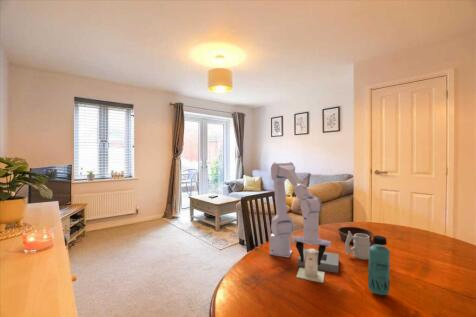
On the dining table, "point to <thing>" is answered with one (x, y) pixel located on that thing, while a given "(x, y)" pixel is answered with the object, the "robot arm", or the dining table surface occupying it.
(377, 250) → the beverage bottle
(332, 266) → the holder
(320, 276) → the mat
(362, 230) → the dish
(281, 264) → the dining table surface
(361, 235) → the mug
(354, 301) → the dining table surface
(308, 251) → the cream strapped capsule
